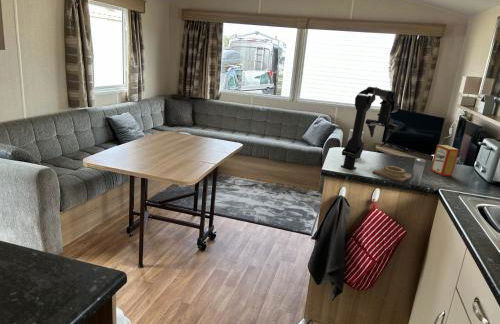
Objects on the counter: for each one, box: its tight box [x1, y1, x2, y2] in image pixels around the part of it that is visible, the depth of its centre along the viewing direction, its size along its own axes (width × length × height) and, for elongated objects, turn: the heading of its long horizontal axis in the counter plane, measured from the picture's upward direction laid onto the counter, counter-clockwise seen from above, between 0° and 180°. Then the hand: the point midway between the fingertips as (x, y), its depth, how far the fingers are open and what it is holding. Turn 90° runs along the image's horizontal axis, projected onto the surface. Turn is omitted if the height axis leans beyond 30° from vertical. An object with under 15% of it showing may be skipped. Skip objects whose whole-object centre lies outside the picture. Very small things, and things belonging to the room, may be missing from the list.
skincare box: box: [346, 128, 365, 155], centre depth 226 cm, size 8×7×16 cm
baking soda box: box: [430, 144, 460, 177], centre depth 208 cm, size 10×6×16 cm
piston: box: [409, 158, 427, 187], centre depth 181 cm, size 5×5×13 cm
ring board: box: [371, 165, 412, 183], centre depth 194 cm, size 16×16×4 cm
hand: (378, 139), depth 212 cm, fingers open, 9 cm apart
